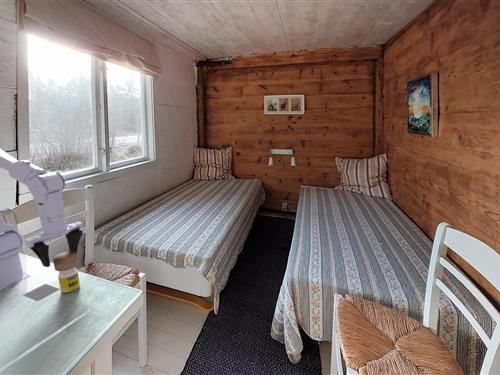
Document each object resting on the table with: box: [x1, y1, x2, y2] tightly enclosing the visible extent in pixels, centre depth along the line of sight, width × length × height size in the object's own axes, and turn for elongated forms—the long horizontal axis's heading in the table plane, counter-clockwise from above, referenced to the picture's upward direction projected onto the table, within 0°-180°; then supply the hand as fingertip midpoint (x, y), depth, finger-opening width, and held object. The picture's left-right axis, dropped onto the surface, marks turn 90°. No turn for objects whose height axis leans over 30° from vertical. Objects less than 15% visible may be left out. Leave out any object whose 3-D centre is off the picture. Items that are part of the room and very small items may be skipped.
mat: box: [23, 283, 60, 302], centre depth 78 cm, size 7×6×1 cm
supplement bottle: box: [57, 266, 81, 296], centre depth 78 cm, size 5×5×8 cm
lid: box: [52, 251, 79, 272], centre depth 77 cm, size 6×6×3 cm
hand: (60, 259), depth 77 cm, fingers open, 7 cm apart
